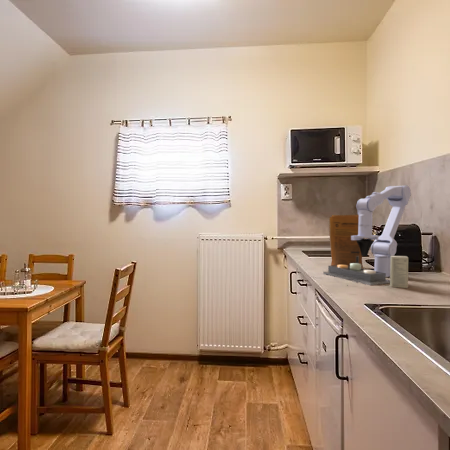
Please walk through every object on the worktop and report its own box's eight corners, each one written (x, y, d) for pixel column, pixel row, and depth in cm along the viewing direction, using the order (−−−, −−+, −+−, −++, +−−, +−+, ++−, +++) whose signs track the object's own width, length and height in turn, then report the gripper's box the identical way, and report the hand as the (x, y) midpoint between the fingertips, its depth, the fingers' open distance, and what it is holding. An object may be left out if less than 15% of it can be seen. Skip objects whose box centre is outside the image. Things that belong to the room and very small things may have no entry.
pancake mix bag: (365, 269, 190) (366, 214, 189) (327, 266, 197) (328, 214, 196) (365, 267, 196) (367, 214, 195) (329, 264, 204) (330, 214, 202)
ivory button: (369, 277, 159) (369, 269, 159) (378, 279, 155) (378, 271, 155) (360, 278, 157) (361, 270, 157) (369, 280, 153) (370, 271, 153)
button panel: (342, 272, 178) (342, 264, 178) (391, 283, 153) (391, 273, 153) (323, 273, 173) (323, 265, 173) (370, 285, 148) (370, 275, 148)
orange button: (342, 271, 174) (342, 264, 173) (350, 273, 169) (350, 265, 169) (334, 272, 172) (334, 264, 171) (342, 273, 167) (342, 266, 167)
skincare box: (406, 286, 147) (407, 256, 147) (408, 288, 143) (409, 257, 143) (389, 284, 149) (390, 255, 149) (390, 287, 145) (391, 256, 145)
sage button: (355, 270, 166) (355, 262, 166) (363, 271, 162) (363, 264, 162) (347, 270, 164) (347, 263, 164) (355, 272, 160) (355, 264, 160)
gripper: (370, 225, 169) (369, 254, 169) (346, 225, 162) (345, 255, 163) (382, 225, 162) (381, 256, 163) (358, 226, 156) (357, 257, 156)
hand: (364, 256), depth 162 cm, fingers closed
